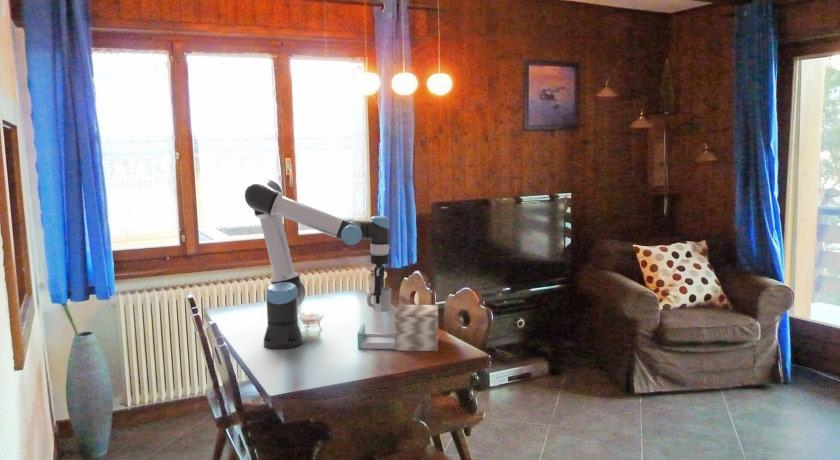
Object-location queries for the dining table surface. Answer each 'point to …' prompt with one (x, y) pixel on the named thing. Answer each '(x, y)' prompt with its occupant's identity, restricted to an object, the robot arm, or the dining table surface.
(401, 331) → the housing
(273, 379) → the dining table surface
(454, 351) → the dining table surface
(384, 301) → the cup
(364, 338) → the tray
